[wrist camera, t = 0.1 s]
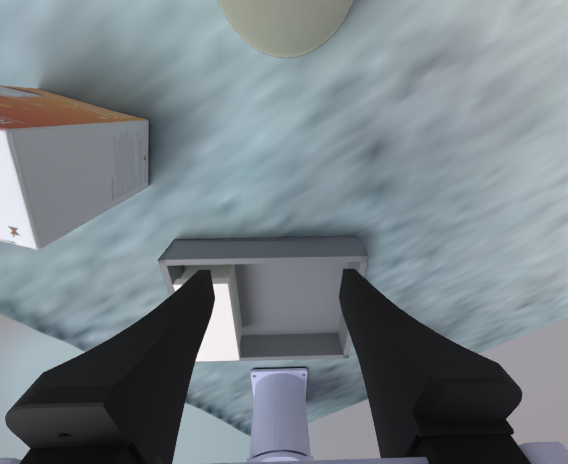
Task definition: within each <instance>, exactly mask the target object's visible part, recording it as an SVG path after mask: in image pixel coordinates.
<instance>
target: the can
mask: <svg viewBox="0 0 568 464" xmlns="http://www.w3.org/2000/svg"><path fill="white" fill-rule="evenodd" d="M218 1H219V4H220V6H221V8H222V10H223V12H224V14H225V16H226V18H227V19H228V21H229V22H230V24H231V25H232V27H233V28H234V29H235V31H236V32H237V33H238V34H239V35H240V36H241V37H242V38H243V39H244V40H245V41H246V42H247V43H248V44H250V45H251V46H252V47H254V48H255V49H257V50H259V51H261V52H263V53H265V54H268V55H271V56H275V57H282V58H290V57H297V56H301V55H304V54H307V53H309V52H311V51H313V50H315V49H317V48H318V47H320V46H321V45H322V44H324V43H325V42H326V41H327V40H328V39H329V38H330V37H331V36H332V35H333V34H334V33H335V32H336V31H337V29H338V28H339V27H340V25H341V24H342V22H343V20H344V19H345V17H346V15H347V13H348V12H349V9H350V7H351V5H352V3H353V1H354V0H218Z"/></svg>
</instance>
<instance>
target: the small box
mask: <svg viewBox="0 0 568 464" xmlns="http://www.w3.org/2000/svg"><path fill="white" fill-rule="evenodd" d="M148 136H149V121H148V120H147V119H144V118H140V117H136V116H132V115H127V114H124V113H120V112H116V111H113V110H109V109H106V108H102V107H99V106H95V105H92V104H89V103H85V102H82V101H79V100H75V99H72V98H68V97H64V96H61V95H58V94H54V93H51V92H47V91H44V90H40V89H35V88H22V87H10V86H0V241H3V242H7V243H12V244H16V245H19V246H23V247H28V248H32V249H35V250H39V249H41V248H43V247H45V246H46V245H48V244H50V243H52V242H53V241H55V240H57V239H59V238H60V237H62V236H64V235H66V234H67V233H69V232H71V231H72V230H74V229H76V228H78V227H79V226H81V225H83V224H84V223H86V222H88V221H90V220H91V219H93V218H95V217H97V216H98V215H100V214H102V213H104V212H105V211H107V210H109V209H110V208H112V207H114V206H116V205H117V204H119V203H121V202H123V201H124V200H126V199H128V198H130V197H131V196H133V195H135V194H136V193H138V192H140V191H142V190H143V189H145V188H147V187H148Z"/></svg>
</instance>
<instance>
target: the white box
mask: <svg viewBox="0 0 568 464" xmlns="http://www.w3.org/2000/svg"><path fill="white" fill-rule="evenodd" d="M198 270H210V271H211V277H212V282H213V288H214V294H215V302H214V307H213V311H212V315H211V319H210V321H209V324H208V327H207V330H206V333H205V335H204V338H203V341H202V344H201V346H200V349H199V352H198V355H197V358H196V362H199V361H235V360H240V354H241V353H240V340H241V334H242V320H241V312H240V304H239V297H238V289H237V281H236V273H235V266H234V264H225V265H188V267H187V268H186V270H185V272H184V273H183V275H182V277H181V279H176V281H175V282H174V284H173V287H174V290H175V291H176V290H178V289H179V288H180V287H181V286H182V285H183V284H184V283H185V282H186V281H187V280H188V279H189V278H191V277H192V276H193V275H194V274H195V273H196V272H197V271H198Z"/></svg>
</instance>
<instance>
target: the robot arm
mask: <svg viewBox="0 0 568 464" xmlns="http://www.w3.org/2000/svg"><path fill="white" fill-rule="evenodd" d="M339 301H340V305H341V310H342V314H343V317H344V320H345V323H346V325H347V328H348V331H349V334H350V337H351V339H352V342H353V345H354V348H355V350H356V353H357V356H358V359H359V363H360V366H361V370H362V374H363V378H364V382H365V386H366V390H367V395H368V399H369V403H370V408H371V412H372V417H373V421H374V426H375V431H376V436H377V440H378V445H379V451H380V456H381V458H378V459H377V458H376V459H344V460H313V457H312V456H311V455H310V444H309V434H308V423H307V413H306V403H305V402H306V388H307V374H308V371H307V369H306V368H288V369H254V370H252V371H251V380H252V389H253V397H254V408H253V421H252V433H251V447H250V458H248V459H247V462H246V463H214V464H568V450H567V449H566V447H565V446H564V445H563V444H562V443H560V442H531V443H525V444H521V445H519V446H518V445H517V443H516V442H515V441H514V439H513V438H512V437H511V435H512V434H513V433H514V431H513V429H512V427H511V426H510V425H509V423H508V422H507V421H506V418H507V417H508V416H509V415H510V414H511V413H512V412H513V411H514V409H515V408H516V407H517V406H518V405H519V403H520V402H521V399H522V391H521V389H520V387H519V386H518V385H517V384H516V383H515V382H514V380H513V379H512V378H511V377H510V376H509V375H508V374H507V372H506V371H505V370H504V369H503V368H502V367H501V366H500V365H499V364H498V363H496V362H494V361H492V360H490V359H488V358H485V357H483V356H481V355H479V354H477V353H475V352H472V351H470V350H468V349H466V348H464V347H462V346H460V345H458V344H456V343H454V342H453V341H451V340H449V339H447V338H445V337H443V336H442V335H440V334H438V333H436V332H435V331H433V330H431V329H430V328H428V327H426V326H425V325H423V324H422V323H420V322H418V321H417V320H415V319H414V318H413V317H411V316H410V315H408V314H407V313H405V312H404V311H403V310H401V309H400V308H399V307H397V306H396V305H395V304H394V303H392V302H391V301H390V300H389V299H387V298H386V297H385V296H384V295H383V294H381V293H380V292H379V291H378V290H377V289H376V288H375V287H374V286H372V285H371V284H370V283H369V282H368V281H367V280H366V279H365V278H364V277H363V276H362V275H361V274H360V273H359V272H358V271H357V270H355V269H343V273H342V280H341V286H340V292H339ZM214 302H215V294H214V288H213V282H212V277H211V271H210V270H198V271H197V272H196V273H195V274H194V275H193V276H192V277H191V278H189V279H188V280H187V281H186V282H185V283H184V284H183V285H182V286H181V287H180V288H179V289H178V290H176V291H175V292H174V293H173V294H172V295H171V296H170V297H169V298H167V299H166V300H165V301H164V302H162V303H161V304H160V305H159V306H158V307H156V308H155V309H154V310H153V311H151V312H150V313H149V314H147V315H146V316H144V317H143V318H142V319H140V320H139V321H137V322H136V323H134V324H133V325H131V326H130V327H128V328H127V329H125V330H123V331H122V332H120V333H119V334H117V335H115V336H114V337H112V338H111V339H109V340H107V341H105V342H104V343H102V344H100V345H98V346H96V347H94V348H93V349H91V350H89V351H87V352H85V353H83V354H81V355H79V356H77V357H75V358H73V359H71V360H69V361H67V362H65V363H63V364H61V365H58V366H57V367H54V368H52V369H50V370H48V371H46V372H43V374H41V375H40V377H39V378H38V379H37V380H36V381H35V382H34V383H33V384H32V385H31V387H30V388H29V389H28V390H27V391H26V392H25V393H24V394H23V395H22V397H21V398H20V399H19V400H18V401H17V402H16V403H15V405H14V406H13V407H12V408H11V409H10V410H9V411H8V412H7V414H6V417H5V420H6V425H7V426H8V428H9V429H10V430H11V431H12V432H13V433H14V434H15V435H16V436H17V437H19V438H20V439H21V440H22V441H23V442H24V443H25V444H27V445H28V446H29V447H30V448H31V449H30V450H29V451H28V453H27V454H26V456H25V457H24V458H23V460H22V461H21V460H18V459H15V458H0V464H172V461H173V456H174V451H175V446H176V441H177V436H178V431H179V427H180V422H181V417H182V413H183V408H184V404H185V400H186V396H187V391H188V387H189V383H190V379H191V375H192V371H193V367H194V364H195V361H196V358H197V355H198V352H199V349H200V346H201V344H202V341H203V338H204V335H205V333H206V330H207V327H208V324H209V321H210V319H211V315H212V311H213V307H214Z"/></svg>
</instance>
